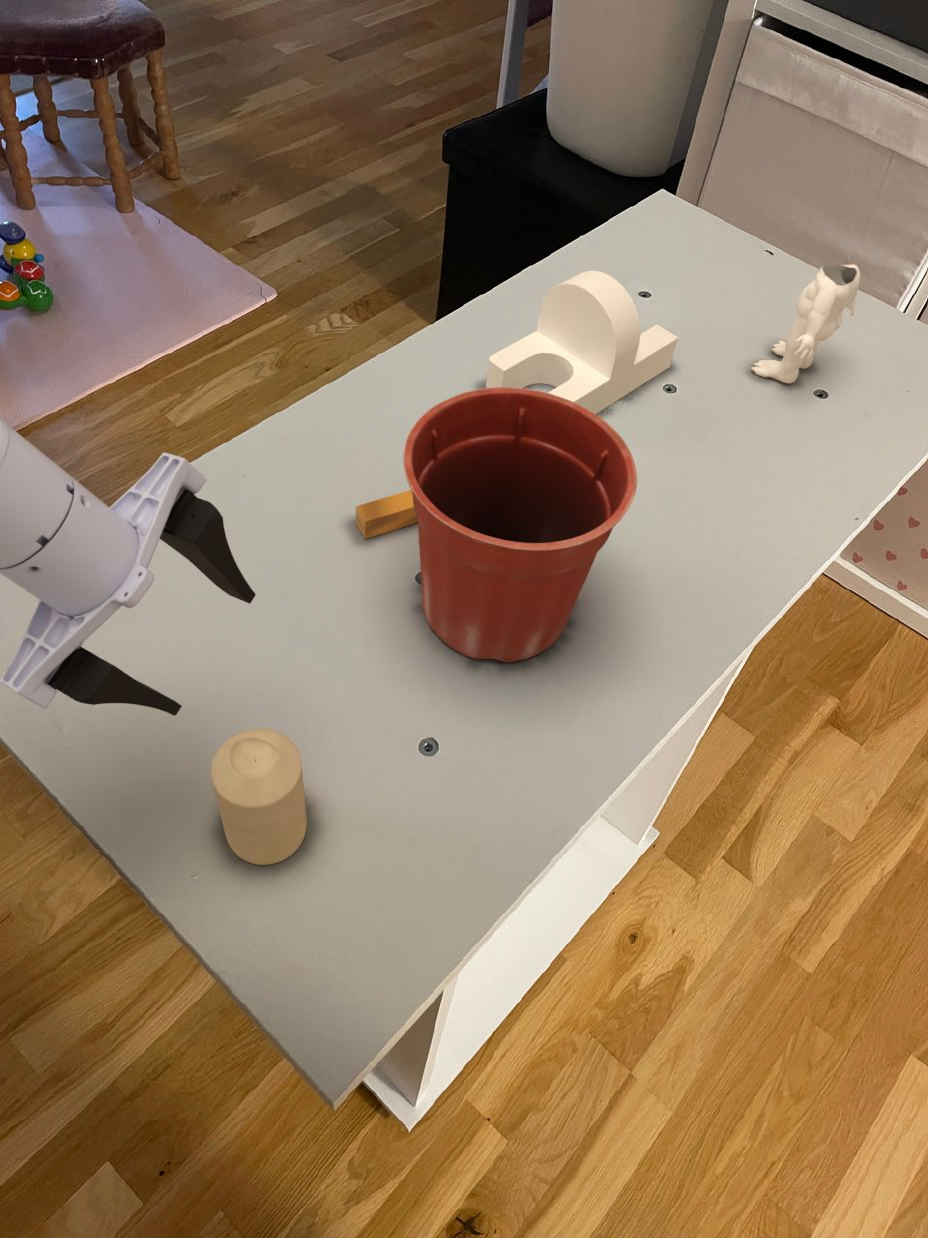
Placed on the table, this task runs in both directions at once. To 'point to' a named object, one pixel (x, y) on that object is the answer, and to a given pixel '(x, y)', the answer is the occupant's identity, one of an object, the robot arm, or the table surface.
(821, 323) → the toy creature
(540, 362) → the block with arch cutout
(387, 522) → the fry stick
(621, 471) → the flower pot
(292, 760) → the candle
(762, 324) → the table surface
